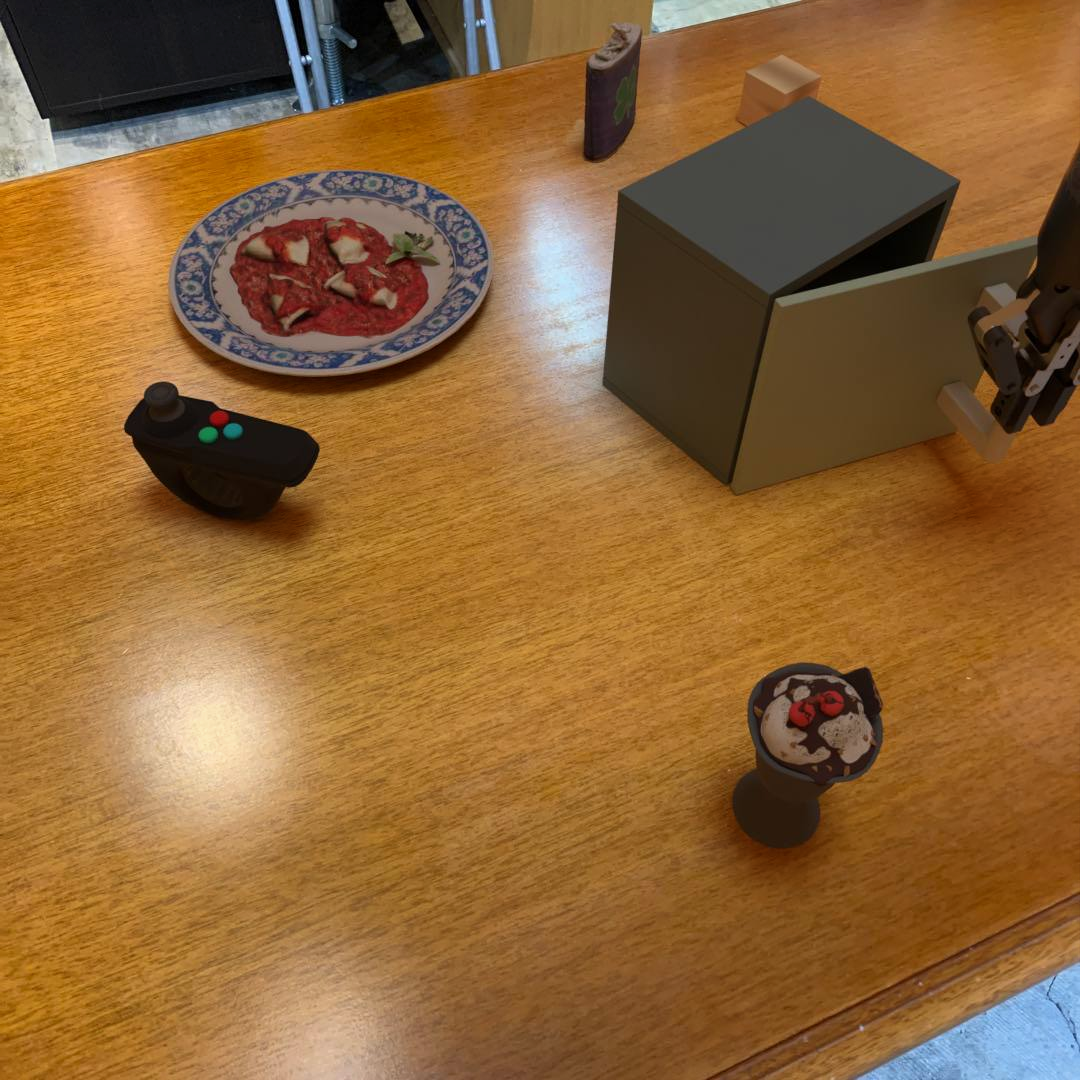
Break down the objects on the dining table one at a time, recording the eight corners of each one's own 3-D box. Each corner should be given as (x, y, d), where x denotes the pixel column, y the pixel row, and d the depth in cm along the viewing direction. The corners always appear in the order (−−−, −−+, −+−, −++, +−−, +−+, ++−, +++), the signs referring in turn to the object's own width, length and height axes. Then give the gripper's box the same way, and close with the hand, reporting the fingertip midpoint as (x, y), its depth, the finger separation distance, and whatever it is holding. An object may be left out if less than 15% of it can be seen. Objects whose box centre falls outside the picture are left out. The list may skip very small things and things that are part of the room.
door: (1007, 494, 75) (1110, 306, 62) (778, 564, 71) (836, 379, 58) (950, 425, 80) (1035, 234, 66) (730, 487, 76) (774, 298, 62)
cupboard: (889, 374, 83) (961, 180, 70) (725, 487, 76) (770, 294, 62) (765, 289, 89) (808, 95, 76) (601, 385, 82) (617, 190, 68)
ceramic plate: (173, 416, 79) (163, 386, 77) (175, 207, 95) (167, 177, 92) (520, 372, 83) (520, 342, 80) (467, 177, 98) (466, 147, 96)
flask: (615, 109, 105) (624, -2, 97) (643, 117, 105) (654, 6, 96) (576, 158, 100) (582, 45, 92) (605, 166, 99) (614, 54, 91)
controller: (176, 465, 76) (137, 359, 68) (339, 505, 74) (318, 401, 66) (146, 510, 74) (101, 406, 66) (314, 553, 72) (288, 450, 64)
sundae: (713, 855, 59) (762, 724, 47) (720, 746, 63) (767, 599, 52) (835, 874, 59) (915, 746, 47) (834, 763, 63) (907, 619, 51)
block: (772, 103, 106) (782, 54, 103) (810, 125, 104) (822, 75, 100) (736, 120, 104) (745, 71, 100) (775, 143, 102) (785, 93, 98)
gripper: (1068, 255, 51) (954, 488, 65) (1311, 204, 53) (1150, 439, 67) (985, 164, 55) (895, 400, 69) (1214, 120, 58) (1082, 358, 72)
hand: (1021, 419), depth 68 cm, fingers closed on door, 2 cm apart
